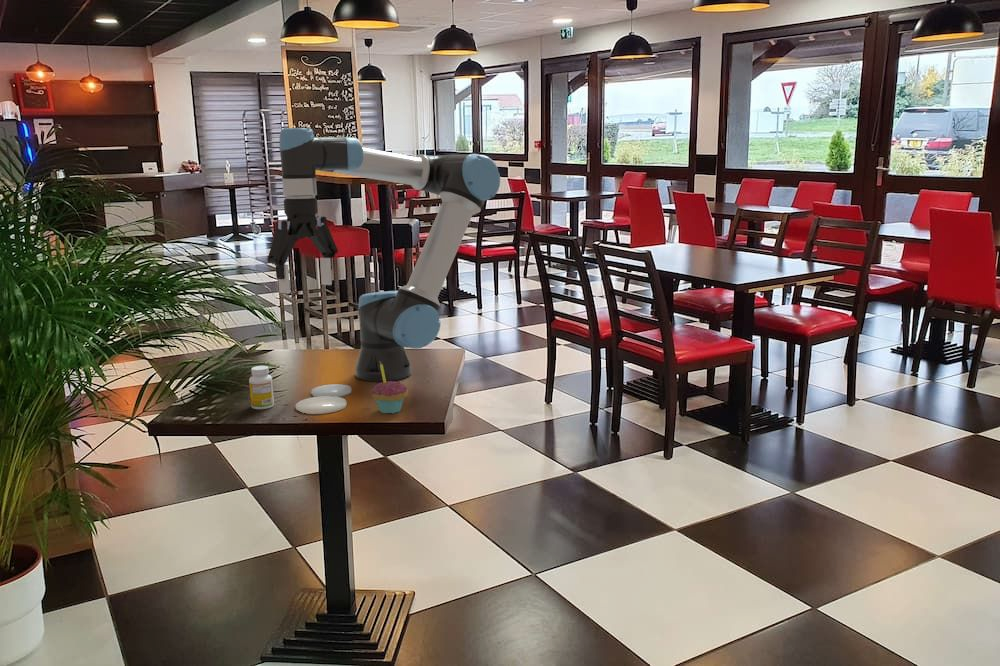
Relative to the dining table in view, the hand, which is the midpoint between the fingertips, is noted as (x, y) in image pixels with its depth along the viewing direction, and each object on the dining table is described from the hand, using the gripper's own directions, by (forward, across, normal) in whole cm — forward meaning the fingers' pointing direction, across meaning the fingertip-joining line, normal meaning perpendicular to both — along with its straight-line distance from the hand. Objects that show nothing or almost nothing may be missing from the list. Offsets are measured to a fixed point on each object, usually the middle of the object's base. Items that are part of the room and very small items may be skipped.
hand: (306, 288), depth 191 cm
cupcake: (+29, -6, +19) cm, 35 cm away
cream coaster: (+29, 0, +2) cm, 29 cm away
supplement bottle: (+29, +7, -10) cm, 31 cm away
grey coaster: (+29, -10, -4) cm, 31 cm away
